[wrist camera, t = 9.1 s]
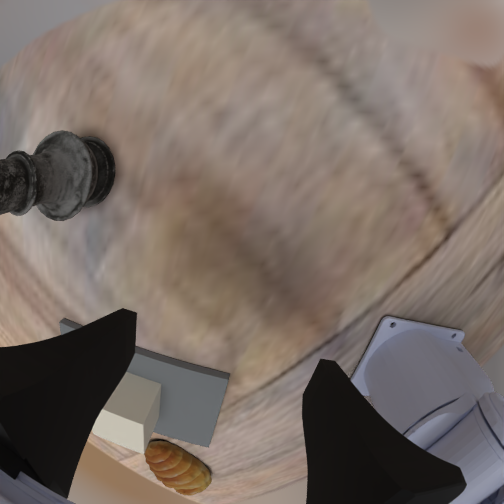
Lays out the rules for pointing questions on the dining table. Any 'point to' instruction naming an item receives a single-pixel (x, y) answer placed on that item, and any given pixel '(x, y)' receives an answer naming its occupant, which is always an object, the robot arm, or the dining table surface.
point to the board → (179, 393)
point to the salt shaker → (57, 176)
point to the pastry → (177, 468)
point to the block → (130, 413)
